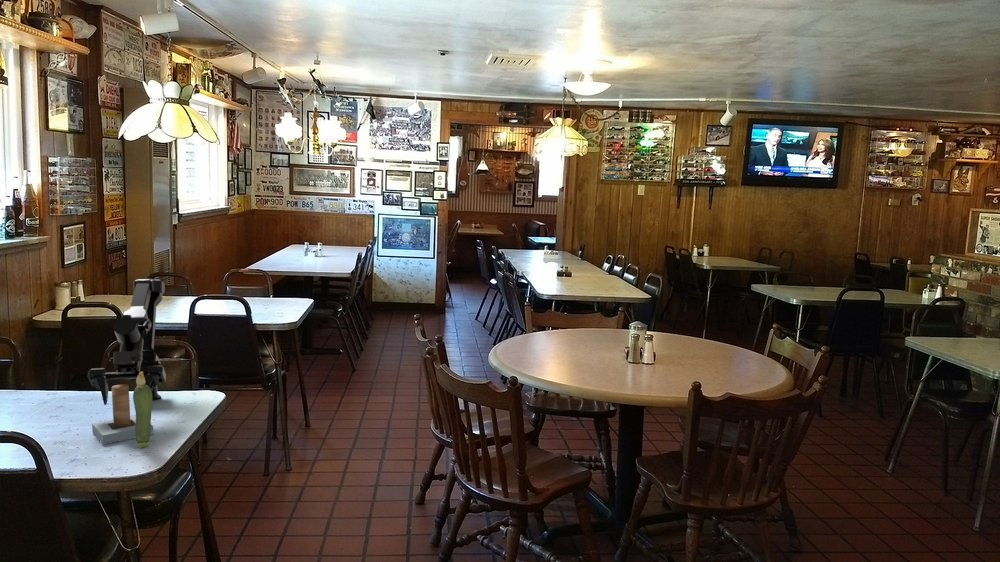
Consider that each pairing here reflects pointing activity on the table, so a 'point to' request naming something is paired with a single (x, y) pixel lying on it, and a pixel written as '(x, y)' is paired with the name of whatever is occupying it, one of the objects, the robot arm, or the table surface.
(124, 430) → the socket
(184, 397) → the table surface
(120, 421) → the peg
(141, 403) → the vegetable
